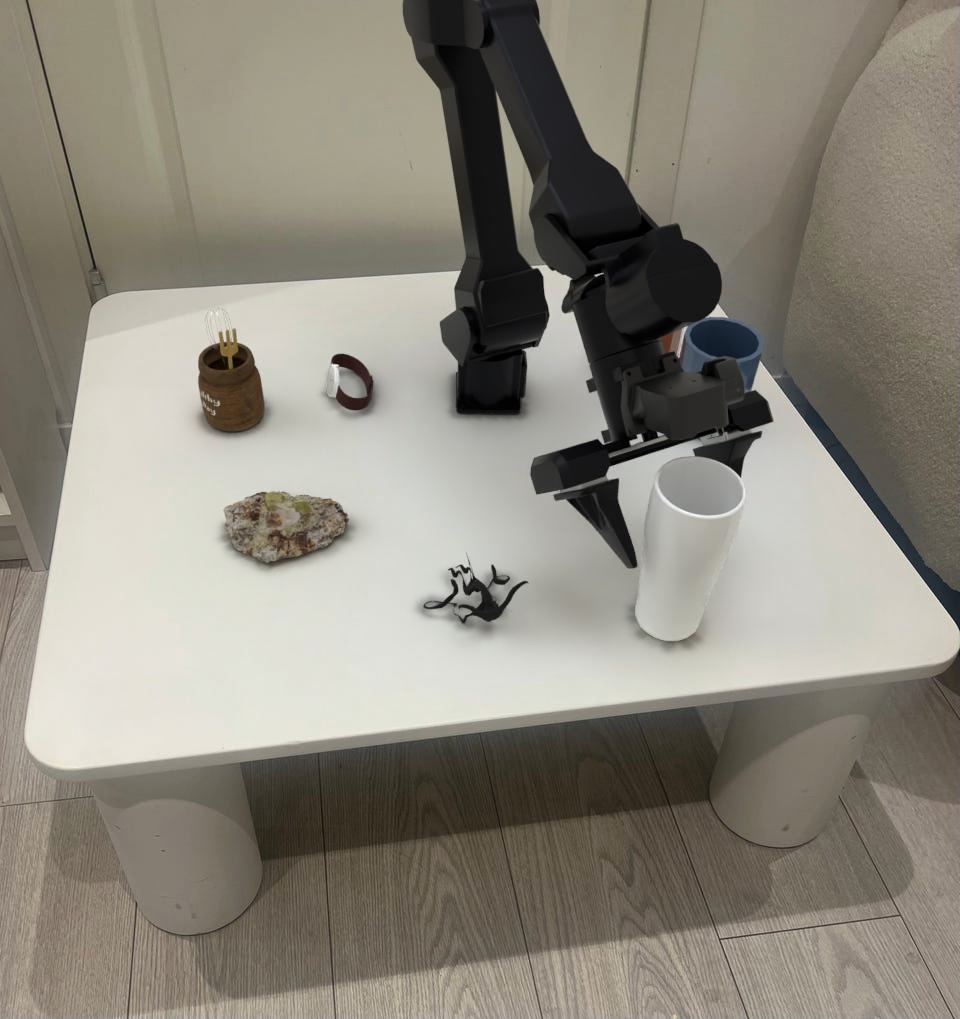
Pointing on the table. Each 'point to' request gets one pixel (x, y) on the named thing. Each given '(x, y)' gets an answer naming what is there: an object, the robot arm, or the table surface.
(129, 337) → the table surface
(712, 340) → the blue tumbler
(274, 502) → the mineral rock
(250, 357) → the utensil holder
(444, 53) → the robot arm
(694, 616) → the drinking glass
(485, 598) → the creature
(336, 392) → the watch
